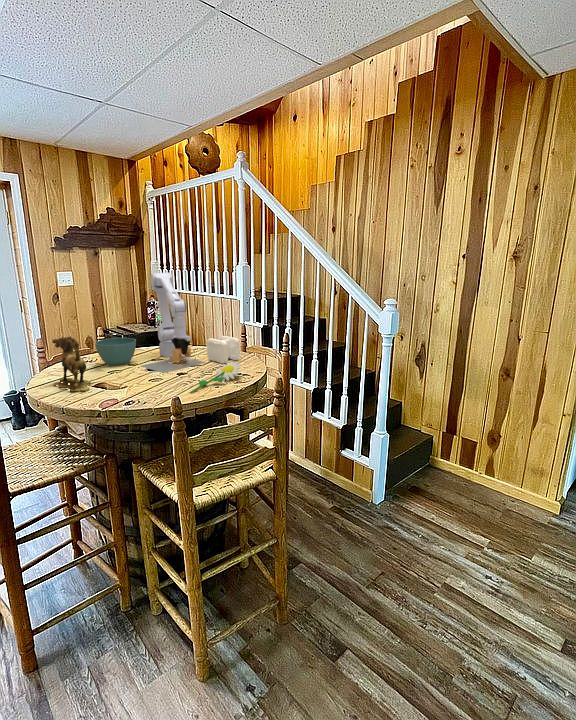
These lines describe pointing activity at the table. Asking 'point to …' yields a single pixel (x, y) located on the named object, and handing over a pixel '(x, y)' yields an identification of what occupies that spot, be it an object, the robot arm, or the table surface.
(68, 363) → the figurine
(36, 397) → the table surface
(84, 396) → the table surface
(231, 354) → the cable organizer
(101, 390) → the table surface
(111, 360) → the plant pot
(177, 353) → the orange arch block
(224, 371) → the decorative flower
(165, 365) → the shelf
